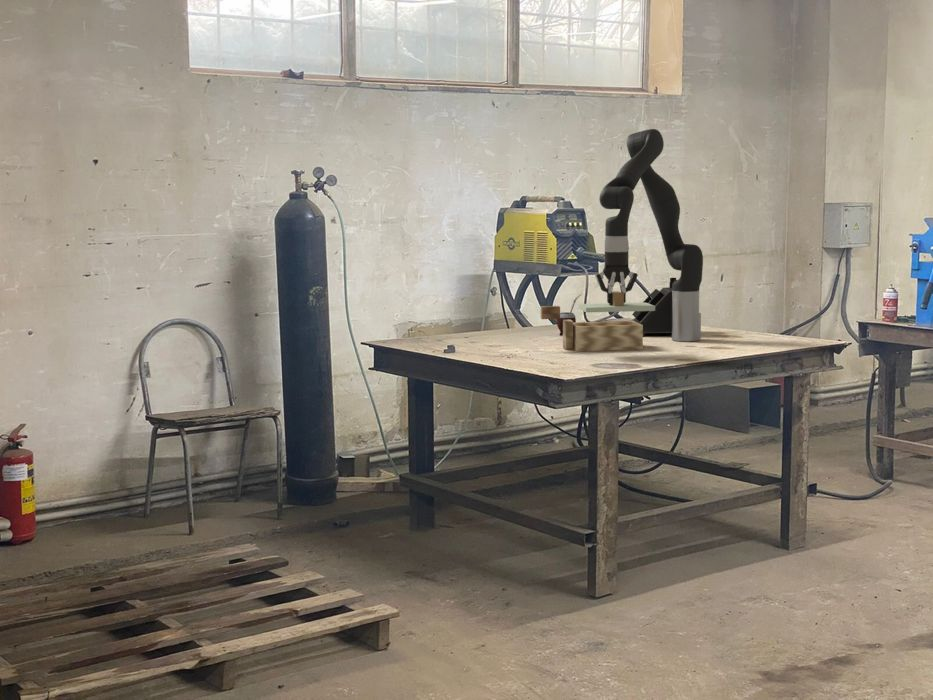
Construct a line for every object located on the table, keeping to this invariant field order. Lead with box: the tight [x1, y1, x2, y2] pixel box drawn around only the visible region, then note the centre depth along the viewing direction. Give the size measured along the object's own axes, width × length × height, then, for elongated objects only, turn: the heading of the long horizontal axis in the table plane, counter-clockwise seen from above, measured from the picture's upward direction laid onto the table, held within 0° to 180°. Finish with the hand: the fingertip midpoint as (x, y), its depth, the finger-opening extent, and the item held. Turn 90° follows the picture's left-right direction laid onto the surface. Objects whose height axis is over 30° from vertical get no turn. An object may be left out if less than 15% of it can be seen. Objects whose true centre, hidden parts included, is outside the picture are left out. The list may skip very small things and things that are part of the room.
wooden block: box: [540, 305, 561, 320], centre depth 374 cm, size 6×3×4 cm, turn 95°
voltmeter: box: [632, 277, 678, 337], centre depth 411 cm, size 16×16×20 cm
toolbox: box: [562, 320, 644, 352], centre depth 377 cm, size 25×12×10 cm, turn 95°
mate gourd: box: [556, 293, 582, 337], centre depth 413 cm, size 8×8×15 cm
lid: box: [578, 290, 655, 313], centre depth 360 cm, size 22×12×6 cm, turn 95°
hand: (616, 304), depth 360 cm, fingers closed on lid, 3 cm apart
